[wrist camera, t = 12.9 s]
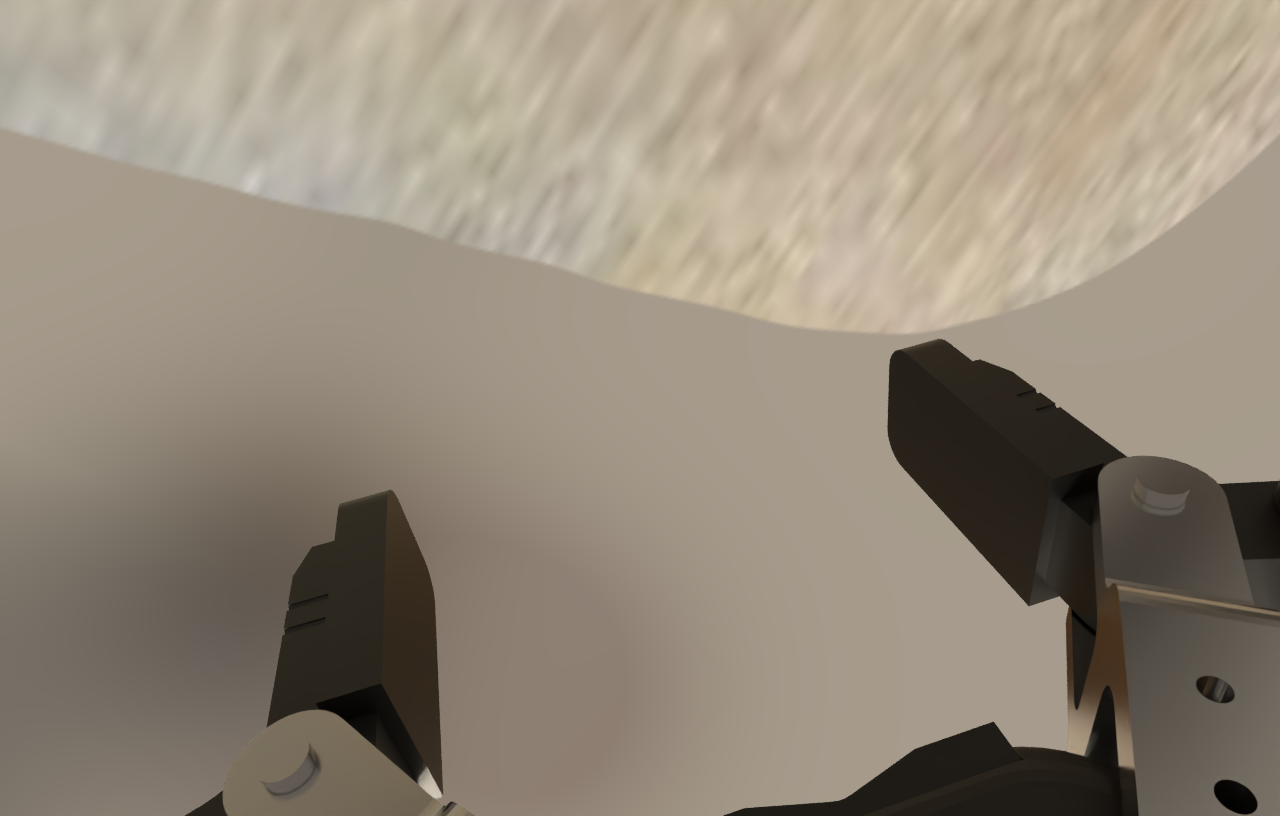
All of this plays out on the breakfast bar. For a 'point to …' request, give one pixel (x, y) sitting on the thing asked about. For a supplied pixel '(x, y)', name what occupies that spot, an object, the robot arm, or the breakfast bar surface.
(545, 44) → the breakfast bar surface
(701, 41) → the breakfast bar surface
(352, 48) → the breakfast bar surface
